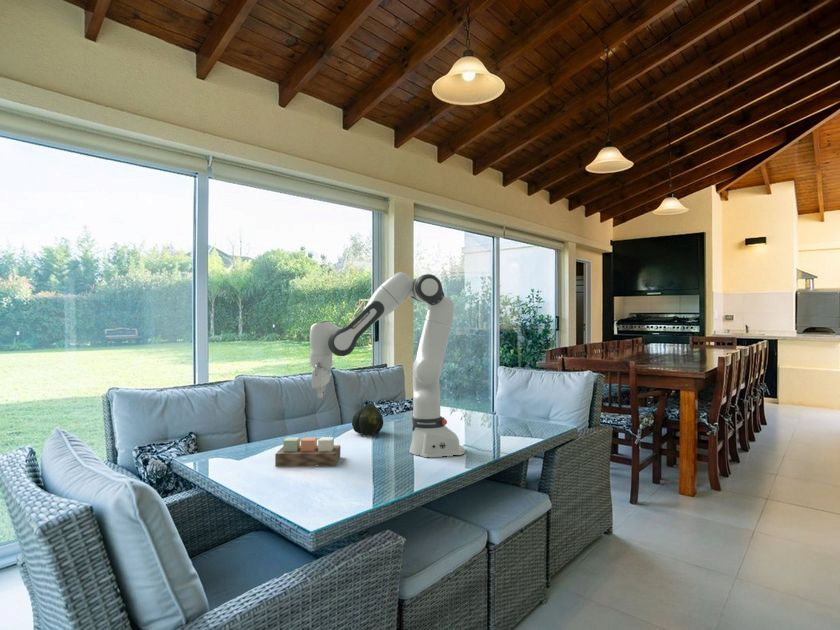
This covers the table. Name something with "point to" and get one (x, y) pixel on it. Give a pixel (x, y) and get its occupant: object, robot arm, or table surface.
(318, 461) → the board
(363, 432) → the squash
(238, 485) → the table surface
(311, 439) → the terracotta key
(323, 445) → the cream key
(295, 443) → the sage key
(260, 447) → the table surface
